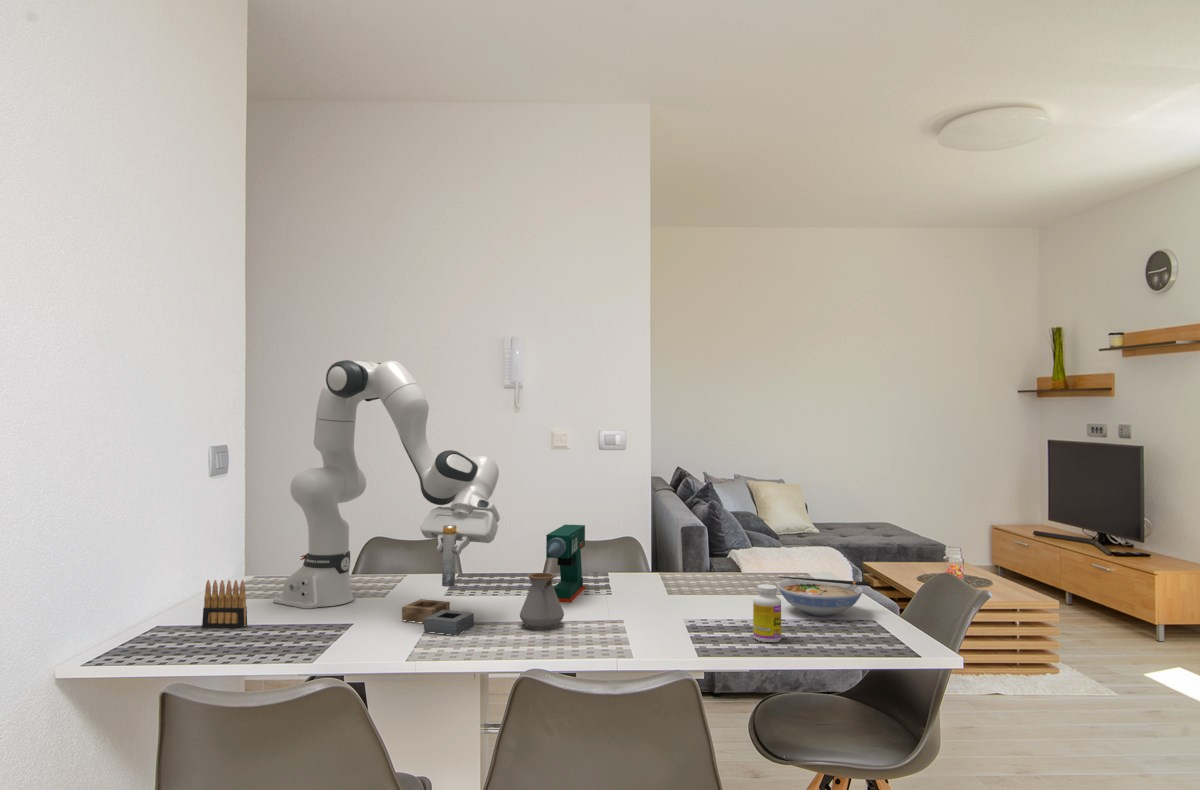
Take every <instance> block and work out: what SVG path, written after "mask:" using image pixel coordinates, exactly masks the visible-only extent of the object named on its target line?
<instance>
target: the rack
mask: <svg viewBox="0 0 1200 790" xmlns="http://www.w3.org/2000/svg"><path fill="white" fill-rule="evenodd" d="M401 609H402V610H401V621H402V620H406V621H415V622H422V623H424V618H426V617H429V616H431V615H433V614H435V613H437V612H439V611H441V610H451V601H445V600H432V599H425V598H424V599H421V598H420V599H418V600H415V601H412V602H411V603H408V604H405V605H403V606H402V608H401Z"/></svg>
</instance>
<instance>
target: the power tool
mask: <svg viewBox="0 0 1200 790" xmlns="http://www.w3.org/2000/svg"><path fill="white" fill-rule="evenodd" d="M585 539H586V525H585V524H564V525H562V526H560V527H557V528H556V529H554V530H553V531H551V532H549V533H547V534H546V540H545V541H546V542H545V544H546V547H545V549H546V551H545V553H546V555H545V556H546V557H545V558H547V559H549V558H550V559H557V566H559V575H560V581H559V582H558V583H556V584H554V585H553V587H554V590H555V592H556V595H557V597H558V600H559V602H560V603H562V602H570V603H569V604H572V603H573V602H574V601H575V600H576V599H577V598H578V597H579V596H578V595H579V594H580V593H581V592H582V591H583V590H584V589H585V590H586V585H585V584H584V577H583V573H582V572H583V571H582V554H581V552H582V551H581V550H582V549H583V548H584V547H585V546H586V540H585ZM583 592H584V591H583ZM583 592H582V593H583ZM582 593H581V594H582ZM581 594H580V595H581ZM577 596H578V597H577ZM576 597H577V598H576ZM575 598H576V599H575ZM574 599H575V600H574ZM573 600H574V601H573ZM572 601H573V602H572ZM571 602H572V603H571Z"/></svg>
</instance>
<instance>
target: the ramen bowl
mask: <svg viewBox="0 0 1200 790" xmlns="http://www.w3.org/2000/svg"><path fill="white" fill-rule="evenodd" d="M778 578H780V579H783V580H781V581H778V582H777V588H778V589H779V592H780V593H781V595H782V597H783V598H784V599H785V600H786V602H788V603H789V604H790V605H791V606H792V607H794V608H796V609H798V610H800V611H802V612H805V613H806V614H808V615H811V616H814V617H815V616H816V617H831V616H834V615H835V614H838V613H842V612H845V611H847V610H848V609H850V608H852V607H853V606H854V605H855V604H856V603H857V602H858V601H859V599H860V598H861V597H862V594H863V592H864V590H863V587H862V586H865V587H870V585H871V581H855V580H843V579H842V580H840V579H831V578H821V577H820V578H819V577H818V578H817V577H793V576H792V577H790V576H778Z"/></svg>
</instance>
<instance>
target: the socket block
mask: <svg viewBox="0 0 1200 790" xmlns="http://www.w3.org/2000/svg"><path fill="white" fill-rule="evenodd" d="M423 625H424V628H423V632H424V631H425V632H435V633H444V634H451V635H457V636H459V635H461V634H462V633H461V632H463V631H465V630H466V631H468V630H470V629H472V628H474V627H473V626H474V625H475V613H474V612H471V611H470V612H468V611H461V610H451V609H450V610H441V611H439V612H437V613H435V614H433V615H431V616H429V617H426V618H424V624H423ZM471 627H472V628H471ZM469 628H470V629H469ZM467 629H468V630H467ZM466 631H465V632H466ZM460 633H461V634H460ZM463 633H464V632H463ZM458 634H459V635H458ZM451 635H450V636H451Z"/></svg>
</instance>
